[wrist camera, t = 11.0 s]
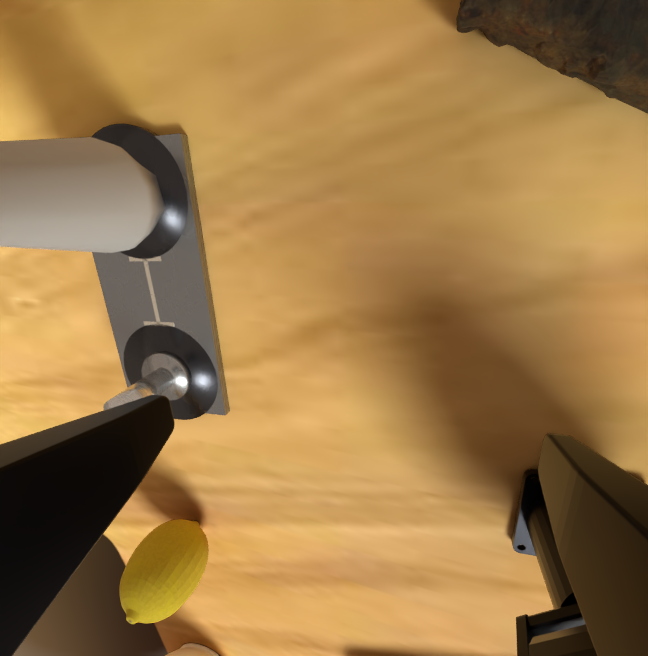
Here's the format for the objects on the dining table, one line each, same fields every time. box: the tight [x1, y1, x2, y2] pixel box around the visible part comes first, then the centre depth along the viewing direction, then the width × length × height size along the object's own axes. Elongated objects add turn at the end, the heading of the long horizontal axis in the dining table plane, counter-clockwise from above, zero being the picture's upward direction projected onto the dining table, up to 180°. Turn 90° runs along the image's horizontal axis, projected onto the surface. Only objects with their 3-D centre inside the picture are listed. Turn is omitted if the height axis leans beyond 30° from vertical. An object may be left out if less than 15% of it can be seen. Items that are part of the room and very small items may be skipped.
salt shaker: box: [0, 137, 166, 253], centre depth 15 cm, size 6×6×13 cm
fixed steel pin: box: [104, 351, 192, 410], centre depth 23 cm, size 4×4×5 cm
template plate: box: [92, 124, 230, 420], centre depth 24 cm, size 20×8×1 cm, turn 3°
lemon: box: [119, 519, 208, 624], centre depth 28 cm, size 6×6×8 cm
